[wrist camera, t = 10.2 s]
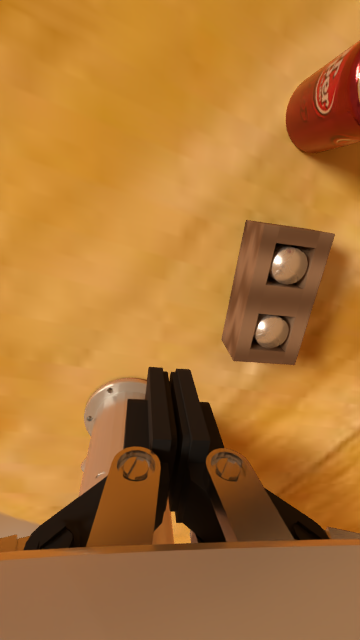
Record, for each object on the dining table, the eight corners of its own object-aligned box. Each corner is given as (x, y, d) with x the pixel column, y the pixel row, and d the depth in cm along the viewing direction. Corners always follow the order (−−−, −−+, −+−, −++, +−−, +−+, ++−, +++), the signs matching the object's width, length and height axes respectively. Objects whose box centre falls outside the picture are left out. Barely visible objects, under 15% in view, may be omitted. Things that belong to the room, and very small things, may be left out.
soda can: (270, 115, 33) (335, 74, 22) (322, 58, 31) (420, -18, 20) (308, 168, 35) (384, 155, 24) (358, 117, 34) (463, 78, 23)
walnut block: (275, 343, 44) (294, 364, 38) (221, 339, 42) (233, 360, 37) (306, 228, 38) (335, 234, 32) (246, 220, 37) (264, 223, 31)
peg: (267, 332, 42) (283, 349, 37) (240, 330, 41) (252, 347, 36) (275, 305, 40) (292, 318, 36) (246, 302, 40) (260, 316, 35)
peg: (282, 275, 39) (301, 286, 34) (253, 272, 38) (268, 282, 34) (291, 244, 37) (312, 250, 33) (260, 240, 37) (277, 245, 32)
